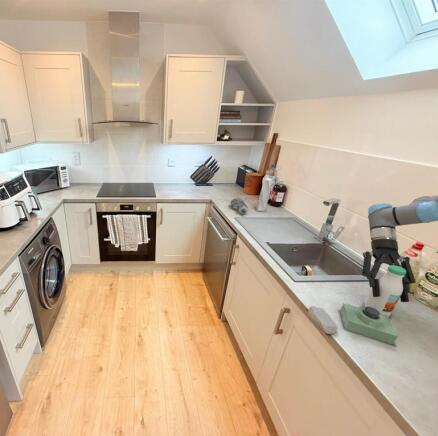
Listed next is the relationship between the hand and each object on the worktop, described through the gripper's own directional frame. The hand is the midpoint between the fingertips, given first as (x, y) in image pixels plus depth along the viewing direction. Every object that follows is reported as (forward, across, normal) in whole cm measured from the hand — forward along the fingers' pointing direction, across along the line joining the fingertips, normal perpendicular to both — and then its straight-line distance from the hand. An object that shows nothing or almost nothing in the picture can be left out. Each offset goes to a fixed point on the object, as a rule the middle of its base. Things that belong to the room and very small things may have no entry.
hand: (390, 299), depth 87 cm
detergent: (-65, +49, -77) cm, 112 cm away
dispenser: (+11, +8, -1) cm, 14 cm away
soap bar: (+14, +23, +1) cm, 27 cm away
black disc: (+7, +8, +3) cm, 11 cm away
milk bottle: (+4, 0, -9) cm, 9 cm away
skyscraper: (-70, +32, -82) cm, 113 cm away
